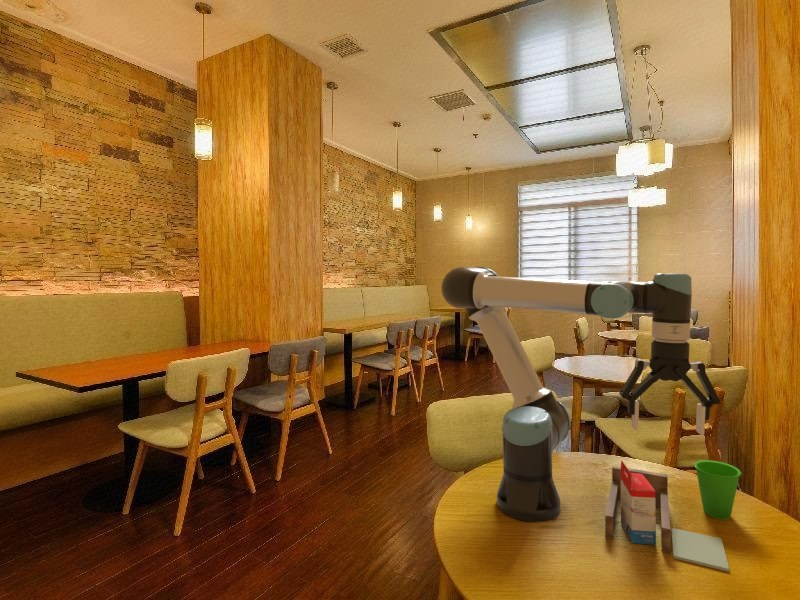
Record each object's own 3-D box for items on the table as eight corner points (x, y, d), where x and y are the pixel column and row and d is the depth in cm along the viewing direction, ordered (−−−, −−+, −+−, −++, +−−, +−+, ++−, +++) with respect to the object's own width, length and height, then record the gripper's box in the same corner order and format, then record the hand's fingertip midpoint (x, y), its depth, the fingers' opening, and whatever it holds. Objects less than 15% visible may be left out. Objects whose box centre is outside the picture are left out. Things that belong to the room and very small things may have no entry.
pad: (673, 558, 88) (673, 555, 88) (671, 530, 98) (671, 527, 98) (729, 572, 84) (729, 568, 84) (721, 541, 93) (721, 538, 93)
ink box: (656, 545, 92) (656, 477, 92) (631, 543, 93) (631, 475, 93) (643, 523, 101) (642, 460, 100) (619, 521, 102) (619, 459, 101)
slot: (605, 537, 96) (605, 501, 95) (612, 496, 113) (612, 465, 113) (670, 553, 90) (670, 515, 89) (667, 506, 107) (667, 474, 107)
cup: (743, 528, 98) (744, 479, 97) (694, 517, 102) (694, 471, 102) (738, 510, 105) (739, 464, 105) (693, 500, 110) (693, 457, 109)
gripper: (614, 340, 101) (612, 431, 103) (741, 344, 95) (736, 441, 97) (608, 336, 109) (605, 420, 110) (724, 339, 102) (720, 429, 104)
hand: (666, 430), depth 103 cm, fingers open, 13 cm apart
